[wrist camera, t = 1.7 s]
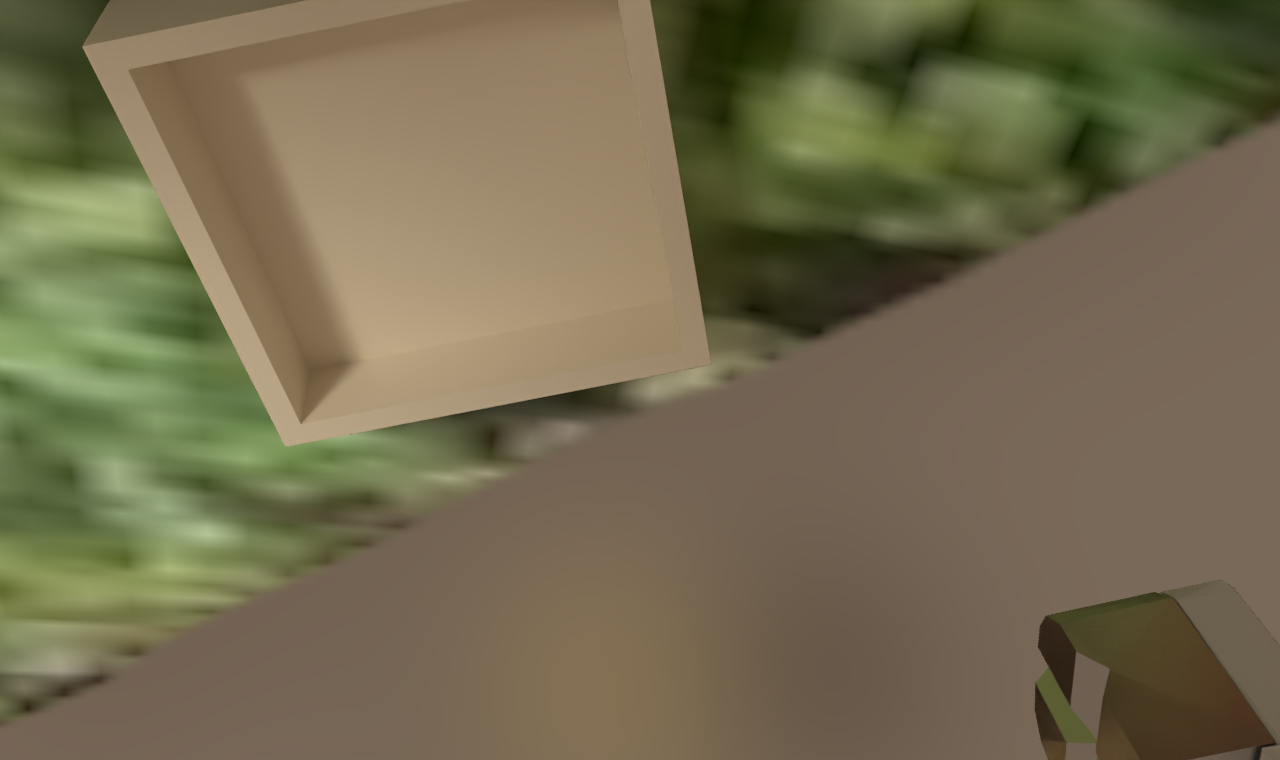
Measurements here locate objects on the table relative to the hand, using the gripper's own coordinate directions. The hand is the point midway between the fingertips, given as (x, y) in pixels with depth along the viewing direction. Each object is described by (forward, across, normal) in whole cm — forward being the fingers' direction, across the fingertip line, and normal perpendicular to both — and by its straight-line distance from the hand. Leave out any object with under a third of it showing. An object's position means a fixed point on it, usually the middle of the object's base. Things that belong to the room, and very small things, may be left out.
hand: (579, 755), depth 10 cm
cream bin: (+28, +3, +6) cm, 29 cm away
